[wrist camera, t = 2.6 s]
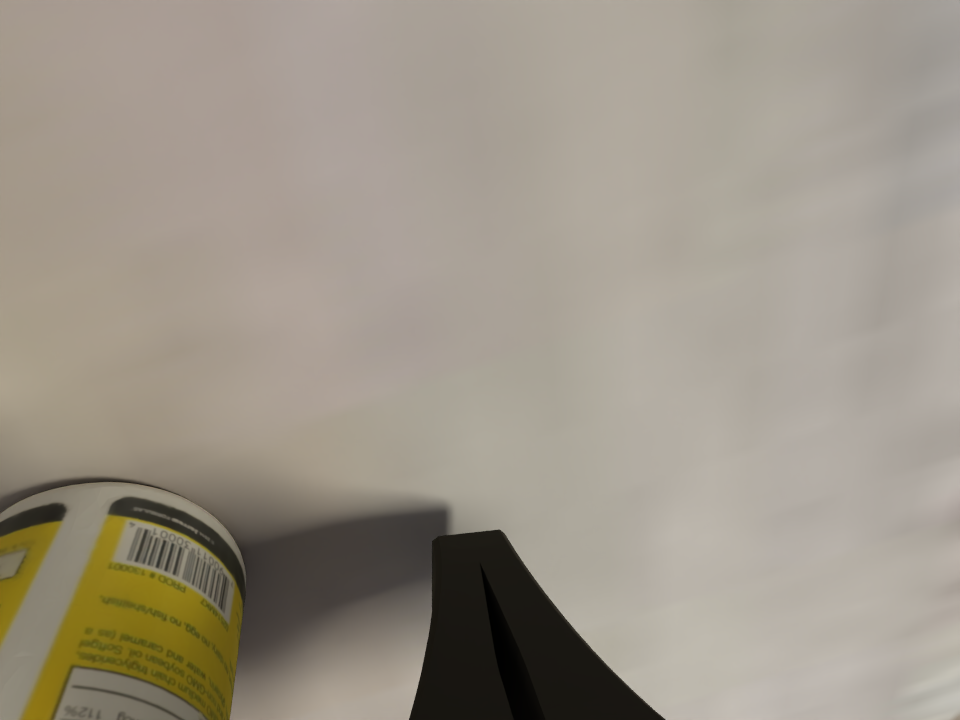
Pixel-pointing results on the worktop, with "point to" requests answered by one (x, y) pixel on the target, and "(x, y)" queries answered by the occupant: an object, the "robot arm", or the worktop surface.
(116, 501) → the supplement bottle
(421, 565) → the worktop surface
